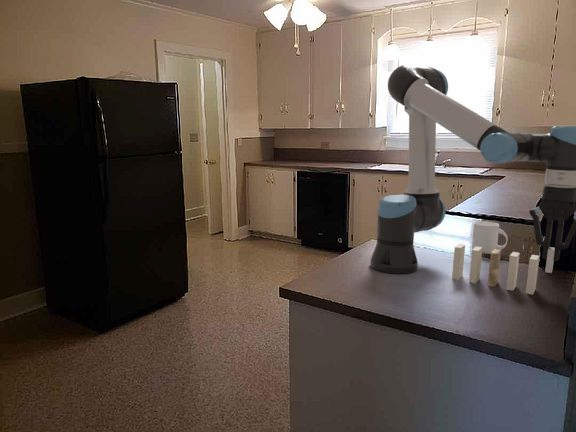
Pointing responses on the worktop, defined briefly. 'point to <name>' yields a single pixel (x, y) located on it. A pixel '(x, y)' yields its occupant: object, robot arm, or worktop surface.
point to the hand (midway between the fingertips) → (548, 271)
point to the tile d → (532, 274)
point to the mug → (487, 236)
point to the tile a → (458, 261)
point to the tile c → (512, 271)
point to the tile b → (475, 264)
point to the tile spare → (494, 267)
